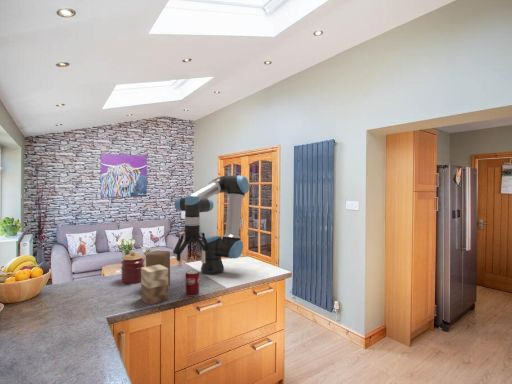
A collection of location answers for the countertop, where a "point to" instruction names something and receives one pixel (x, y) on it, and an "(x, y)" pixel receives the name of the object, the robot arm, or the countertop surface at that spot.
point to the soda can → (192, 282)
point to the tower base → (154, 294)
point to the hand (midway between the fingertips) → (192, 264)
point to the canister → (132, 268)
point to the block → (159, 260)
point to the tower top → (154, 276)
